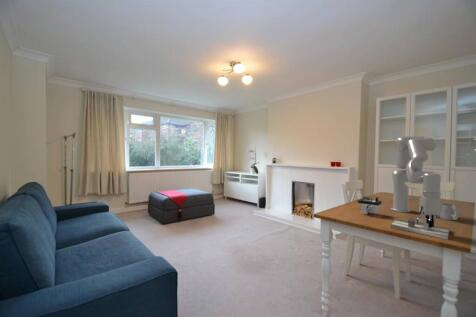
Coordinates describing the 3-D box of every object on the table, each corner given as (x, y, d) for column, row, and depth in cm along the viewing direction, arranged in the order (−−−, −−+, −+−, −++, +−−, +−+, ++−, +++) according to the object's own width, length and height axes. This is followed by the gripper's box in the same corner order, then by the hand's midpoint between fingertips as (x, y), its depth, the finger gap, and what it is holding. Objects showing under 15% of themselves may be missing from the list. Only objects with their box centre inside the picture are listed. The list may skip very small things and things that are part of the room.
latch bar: (416, 222, 137) (416, 217, 137) (421, 223, 136) (421, 217, 136) (423, 229, 126) (423, 223, 126) (428, 230, 125) (429, 223, 124)
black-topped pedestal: (342, 213, 167) (342, 196, 166) (356, 207, 184) (356, 191, 184) (385, 222, 146) (386, 202, 145) (397, 215, 163) (397, 196, 163)
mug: (448, 217, 157) (448, 200, 156) (463, 222, 145) (464, 204, 144) (436, 217, 157) (437, 200, 157) (451, 222, 145) (451, 203, 145)
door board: (397, 221, 148) (397, 212, 148) (449, 230, 130) (449, 220, 130) (390, 227, 135) (391, 217, 135) (447, 239, 117) (447, 228, 117)
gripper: (437, 193, 132) (436, 224, 133) (413, 193, 131) (412, 224, 132) (450, 195, 124) (448, 228, 125) (424, 196, 123) (423, 229, 124)
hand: (430, 226), depth 128 cm, fingers closed
